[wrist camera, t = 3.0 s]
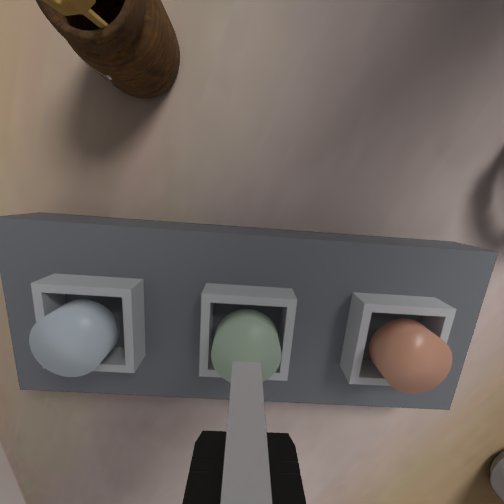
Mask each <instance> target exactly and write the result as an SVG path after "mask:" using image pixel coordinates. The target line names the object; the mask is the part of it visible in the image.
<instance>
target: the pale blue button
mask: <svg viewBox="0 0 504 504" xmlns="http://www.w3.org/2000/svg"><path fill="white" fill-rule="evenodd" d="M118 339H119V325H118V322H117V320H116V318H115V316H114V315H113V314H112V312H111V311H110V310H109V309H107V308H106V307H105V306H103V305H102V304H100V303H98V302H95V301H92V300H87V299H78V300H73V301H70V302H68V303H66V304H64V305H63V306H61V307H59V308H58V309H56V310H54V311H53V312H51V313H49V314H48V315H46V316H45V317H43V318H41V319H40V320H39V321H37V322H36V323H35V325H34V326H33V328H32V329H31V332H30V336H29V345H30V349H31V352H32V354H33V356H34V357H35V359H36V360H37V361H38V362H39V364H41V365H42V366H43V367H44V368H45V369H47V370H48V371H50V372H52V373H54V374H57V375H60V376H65V377H79V376H83V375H86V374H88V373H90V372H92V371H93V370H94V369H95V368H96V367H97V366H98V365H99V364H100V363H101V362H102V360H103V359H104V358H105V357H106V356H107V355H108V354H109V352H110V351H111V350H112V349H113V348H114V346H115V345H116V343H117V342H118Z"/></svg>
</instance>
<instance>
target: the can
mask: <svg viewBox="0 0 504 504" xmlns="http://www.w3.org/2000/svg"><path fill="white" fill-rule="evenodd" d="M490 472H491V478H490V480H491V485H492V488H493V489H494V490H495V492H496V493H497V494H498V495H499V497H500V498H501V499H502V500H503V501H504V451H502V452H501V453H500V454H499V455H497V456H496V457H495V459H494V460H493V462H492V464H491V468H490Z"/></svg>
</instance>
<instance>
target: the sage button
mask: <svg viewBox="0 0 504 504" xmlns="http://www.w3.org/2000/svg"><path fill="white" fill-rule="evenodd" d="M211 360H212V364H213V366H214V368H215V370H216V372H217V373H218V374H219V375H220V376H221V377H222V378H223V379H225V380H226V381H228V382H230V383H231V375H232V364H233V361H236V362H255V363H261V370H262V382H264V381H266V380H267V379H269V378H270V377H271V376H272V375H273V374H274V373H275V372H276V370H277V369H278V367H279V365H280V362H281V347H280V343H279V338H278V333H277V329H276V327H275V325H274V323H273V321H272V320H271V319H270V318H269V317H268V316H267V315H265V314H264V313H262V312H259V311H257V310H253V309H241V310H236V311H234V312H231V313H230V314H228V315H226V316H225V317H224V318H223V319H222V320H221V321H220V323H219V324H218V326H217V329H216V332H215V337H214V341H213V345H212V350H211Z"/></svg>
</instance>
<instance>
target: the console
mask: <svg viewBox="0 0 504 504" xmlns="http://www.w3.org/2000/svg"><path fill="white" fill-rule="evenodd" d="M497 255H498V252H495V251H490V250H486V249H482V248H478V247H474V246H469V245H465V244H461V243H457V242H449V241H435V240H420V239H406V238H392V237H378V236H364V235H350V234H335V233H321V232H307V231H293V230H279V229H264V228H250V227H236V226H222V225H208V224H194V223H179V222H165V221H151V220H137V219H123V218H109V217H94V216H80V215H66V214H52V213H29V214H19V215H8V216H0V272H1V278H2V284H3V290H4V296H5V302H6V308H7V314H8V320H9V326H10V332H11V338H12V344H13V350H14V356H15V362H16V368H17V374H18V380H19V386H20V390H41V391H62V392H83V393H104V394H125V395H146V396H167V397H188V398H209V399H230V387H231V383H230V382H228V381H226V380H225V379H223V378H222V377H221V376H220V375H219V374H218V373H217V372H216V370H215V368H214V366H213V364H212V360H211V350H212V345H213V341H214V337H215V332H216V329H217V326H218V324H219V323H220V321H221V320H222V319H223V318H224V317H225V316H226V315H228V314H230V313H231V312H234V311H236V310H241V309H253V310H257V311H259V312H262V313H264V314H265V315H267V316H268V317H269V318H270V319H271V320H272V321H273V323H274V325H275V327H276V329H277V333H278V338H279V343H280V347H281V362H280V365H279V367H278V369H277V370H276V372H275V373H274V374H273V375H272V376H271V377H270V378H269V379H267V380H266V381H264V382H262V383H263V395H264V401H272V402H293V403H315V404H336V405H357V406H378V407H399V408H420V409H441V410H450V406H451V403H452V400H453V397H454V393H455V390H456V387H457V384H458V381H459V377H460V374H461V371H462V368H463V364H464V361H465V358H466V355H467V351H468V348H469V345H470V342H471V339H472V335H473V332H474V329H475V326H476V322H477V319H478V316H479V313H480V309H481V306H482V303H483V300H484V297H485V293H486V290H487V287H488V284H489V280H490V277H491V274H492V271H493V267H494V264H495V261H496V258H497ZM78 299H87V300H92V301H95V302H98V303H100V304H102V305H103V306H105V307H106V308H107V309H109V310H110V311H111V312H112V314H113V315H114V316H115V318H116V320H117V322H118V325H119V339H118V342H117V343H116V345H115V346H114V348H113V349H112V350H111V351H110V352H109V354H108V355H107V356H106V357H105V358H104V359H103V360H102V362H101V363H100V364H99V365H98V366H97V367H96V368H95V369H94V370H93V371H92V372H90V373H88V374H86V375H83V376H79V377H65V376H60V375H57V374H54V373H52V372H50V371H48V370H47V369H45V368H44V367H43V366H42V365H41V364H39V362H38V361H37V360H36V359H35V357H34V356H33V354H32V352H31V349H30V345H29V336H30V332H31V329H32V328H33V326H34V325H35V323H36V322H37V321H39V320H40V319H41V318H43V317H45V316H46V315H48V314H49V313H51V312H53V311H54V310H56V309H58V308H59V307H61V306H63V305H64V304H66V303H68V302H70V301H73V300H78ZM401 318H407V319H412V320H415V321H418V322H419V323H421V324H422V325H424V326H425V327H426V328H427V329H429V330H430V331H431V332H433V333H434V334H435V335H437V336H438V337H439V338H441V339H442V340H443V341H445V342H446V343H447V345H448V346H449V348H450V350H451V352H452V366H451V369H450V371H449V373H448V375H447V376H446V378H445V379H444V380H443V381H442V382H441V383H440V384H439V385H437V386H436V387H435V388H433V389H431V390H429V391H426V392H423V393H418V394H406V393H402V392H399V391H397V390H395V389H394V388H392V387H391V386H390V385H389V383H388V382H387V381H386V379H385V378H384V377H383V375H382V374H381V373H380V371H379V370H378V369H377V367H376V366H375V364H374V363H373V362H372V360H371V358H370V355H369V344H370V341H371V338H372V336H373V335H374V333H375V332H376V331H377V330H378V329H379V328H380V327H381V326H382V325H384V324H385V323H387V322H389V321H392V320H395V319H401Z"/></svg>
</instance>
